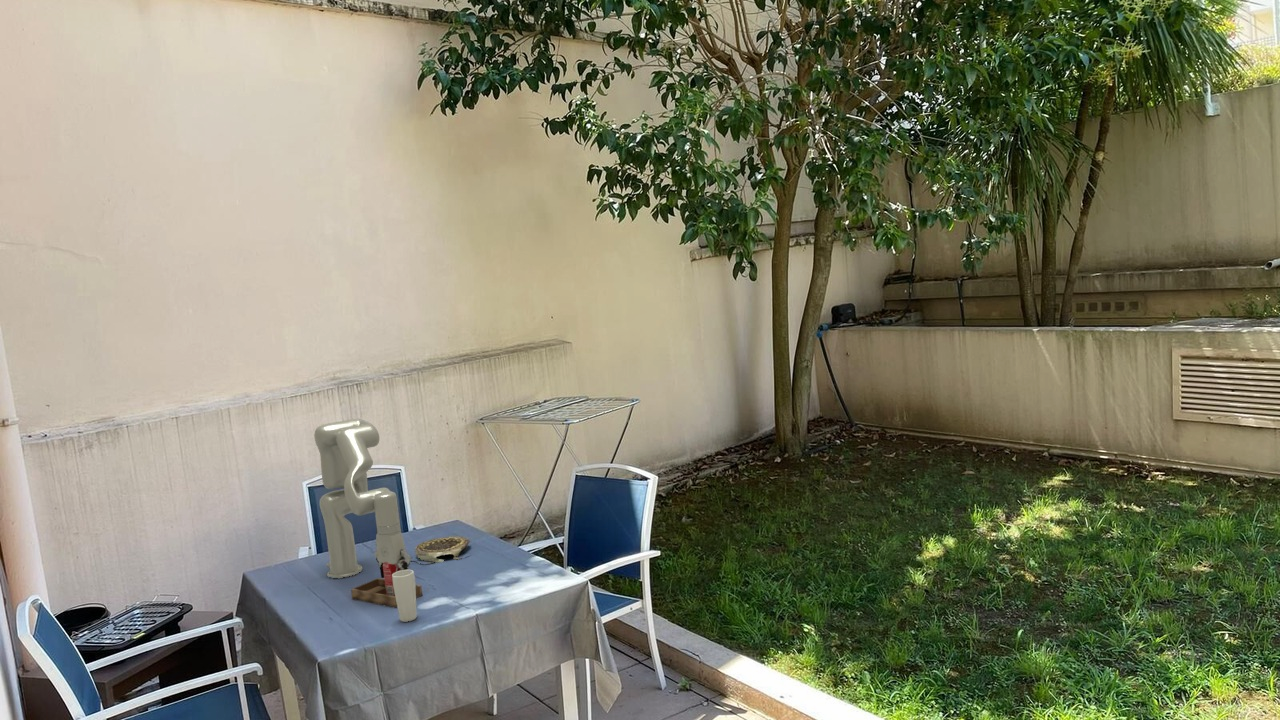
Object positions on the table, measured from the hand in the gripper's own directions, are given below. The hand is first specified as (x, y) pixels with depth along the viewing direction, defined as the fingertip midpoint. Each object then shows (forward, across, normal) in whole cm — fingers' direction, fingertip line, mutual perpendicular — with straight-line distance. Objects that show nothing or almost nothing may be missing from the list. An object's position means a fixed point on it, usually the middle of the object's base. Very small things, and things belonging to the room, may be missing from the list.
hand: (395, 578), depth 288 cm
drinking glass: (+7, +18, -11) cm, 22 cm away
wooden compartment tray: (+7, -5, 0) cm, 9 cm away
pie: (+8, -24, +43) cm, 50 cm away
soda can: (+6, 0, 0) cm, 6 cm away
